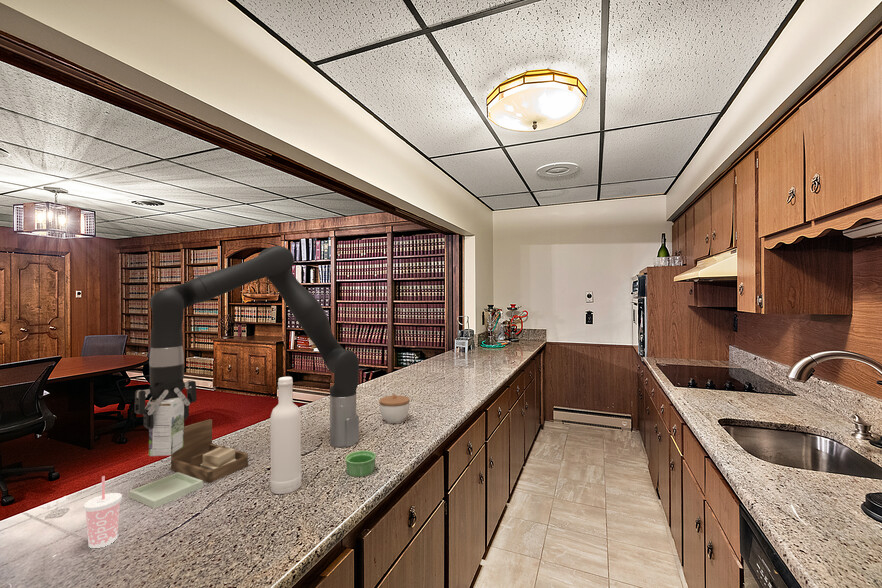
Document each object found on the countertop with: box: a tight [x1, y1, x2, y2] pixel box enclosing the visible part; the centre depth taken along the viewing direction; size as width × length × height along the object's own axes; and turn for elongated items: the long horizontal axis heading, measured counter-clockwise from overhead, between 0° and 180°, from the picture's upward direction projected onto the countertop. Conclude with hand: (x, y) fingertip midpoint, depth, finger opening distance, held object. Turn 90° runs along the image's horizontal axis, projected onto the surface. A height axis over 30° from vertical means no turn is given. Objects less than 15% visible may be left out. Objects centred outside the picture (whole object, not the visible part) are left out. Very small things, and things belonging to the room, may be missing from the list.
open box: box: [170, 419, 249, 484], centre depth 117 cm, size 19×12×12 cm, turn 63°
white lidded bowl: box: [378, 394, 410, 424], centre depth 160 cm, size 13×13×11 cm
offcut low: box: [200, 459, 236, 470], centre depth 115 cm, size 7×7×3 cm
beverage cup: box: [83, 475, 123, 549], centre depth 81 cm, size 6×6×14 cm
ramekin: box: [344, 450, 377, 478], centre depth 114 cm, size 9×9×4 cm
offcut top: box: [203, 447, 236, 467], centre depth 115 cm, size 6×6×3 cm
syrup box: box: [148, 397, 185, 457], centre depth 103 cm, size 6×6×14 cm
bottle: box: [269, 376, 302, 495], centre depth 104 cm, size 8×8×30 cm
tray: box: [128, 472, 204, 509], centre depth 102 cm, size 12×12×2 cm
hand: (167, 423), depth 103 cm, fingers closed on syrup box, 8 cm apart
